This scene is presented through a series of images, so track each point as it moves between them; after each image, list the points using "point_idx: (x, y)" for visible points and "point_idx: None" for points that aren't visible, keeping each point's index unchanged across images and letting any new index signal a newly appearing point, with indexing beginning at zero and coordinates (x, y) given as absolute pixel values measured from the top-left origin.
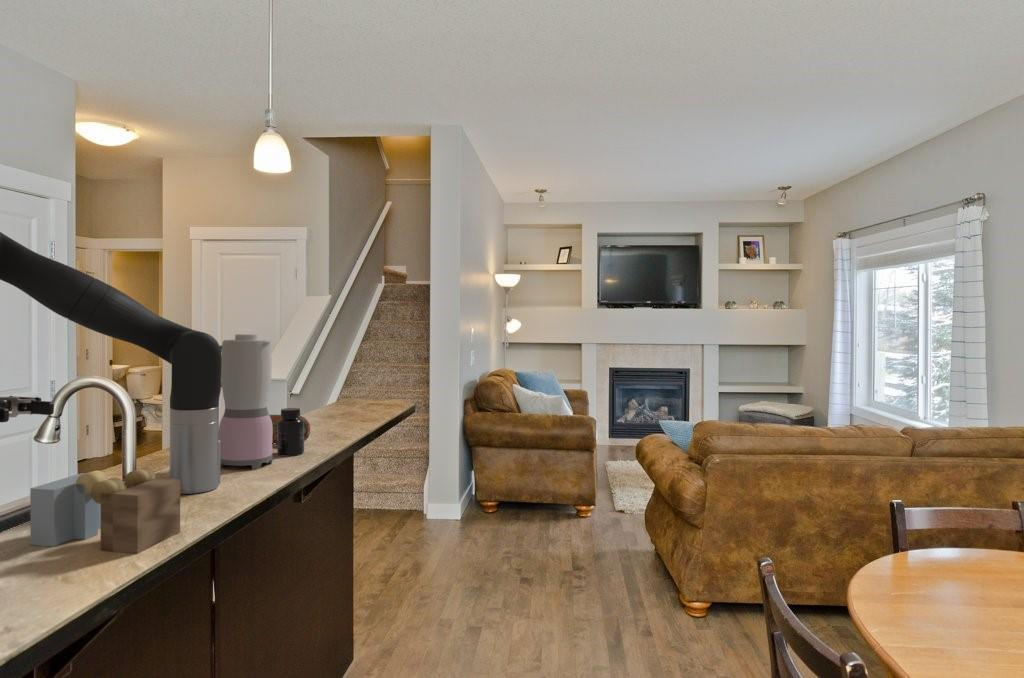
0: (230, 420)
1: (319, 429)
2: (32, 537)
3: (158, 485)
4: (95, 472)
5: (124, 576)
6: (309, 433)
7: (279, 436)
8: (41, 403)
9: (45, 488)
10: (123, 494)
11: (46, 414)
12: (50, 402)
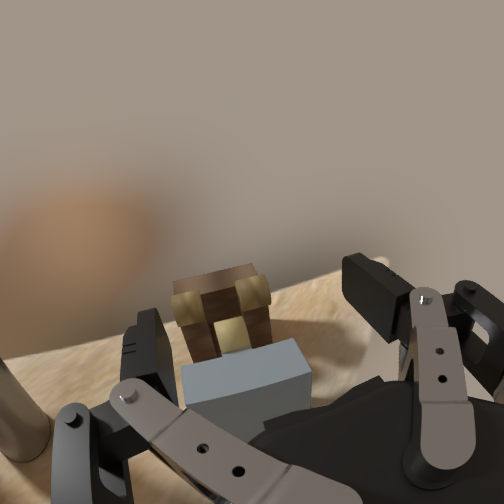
0: None
1: None
2: None
3: (207, 277)
4: (225, 321)
5: (299, 289)
6: None
7: None
8: (158, 336)
9: (296, 353)
10: (255, 272)
11: (171, 355)
12: (149, 309)
